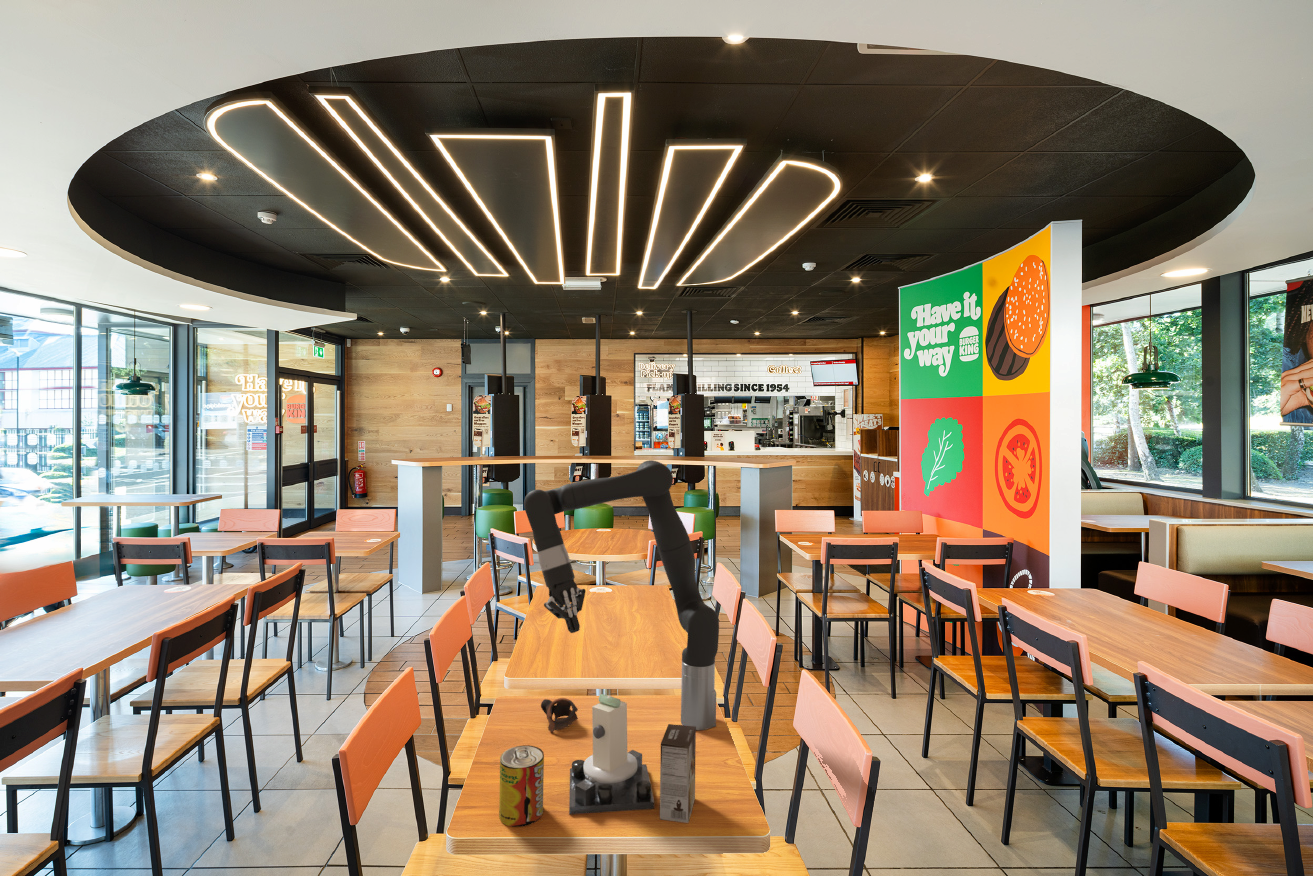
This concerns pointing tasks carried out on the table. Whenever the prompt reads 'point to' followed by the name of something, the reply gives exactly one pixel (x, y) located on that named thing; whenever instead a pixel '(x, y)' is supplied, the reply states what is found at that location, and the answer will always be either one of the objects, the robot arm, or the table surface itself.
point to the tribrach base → (618, 793)
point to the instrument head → (609, 743)
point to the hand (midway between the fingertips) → (575, 631)
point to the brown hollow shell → (559, 713)
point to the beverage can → (521, 786)
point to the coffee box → (677, 773)
